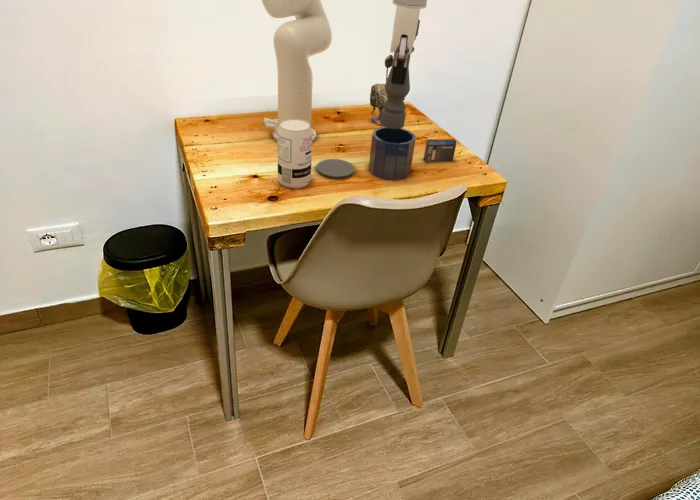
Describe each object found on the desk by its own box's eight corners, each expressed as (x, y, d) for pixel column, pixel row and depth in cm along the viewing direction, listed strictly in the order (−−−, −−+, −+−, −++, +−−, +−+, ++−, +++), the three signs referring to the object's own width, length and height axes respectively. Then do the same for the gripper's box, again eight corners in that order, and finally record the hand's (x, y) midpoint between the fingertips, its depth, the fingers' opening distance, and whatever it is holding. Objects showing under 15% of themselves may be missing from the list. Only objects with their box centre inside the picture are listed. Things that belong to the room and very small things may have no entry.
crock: (366, 177, 136) (370, 141, 130) (371, 158, 145) (374, 124, 139) (409, 182, 135) (414, 146, 130) (410, 163, 144) (416, 129, 139)
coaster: (313, 176, 134) (313, 173, 134) (320, 159, 142) (320, 156, 142) (351, 181, 134) (352, 178, 133) (356, 164, 142) (356, 161, 141)
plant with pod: (360, 119, 168) (365, 54, 157) (388, 114, 174) (396, 51, 162) (374, 128, 163) (381, 62, 151) (403, 123, 168) (412, 59, 157)
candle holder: (397, 131, 130) (413, 24, 115) (375, 124, 132) (388, 18, 118) (408, 124, 134) (425, 20, 120) (387, 117, 137) (401, 14, 122)
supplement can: (280, 172, 134) (279, 116, 126) (312, 175, 135) (314, 119, 126) (275, 188, 128) (274, 129, 119) (309, 190, 128) (311, 133, 119)
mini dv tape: (425, 162, 146) (428, 142, 143) (423, 159, 147) (426, 139, 144) (452, 161, 148) (456, 141, 144) (450, 158, 149) (454, 138, 146)
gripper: (395, -11, 123) (385, 67, 134) (390, 3, 109) (379, 89, 120) (427, -7, 122) (415, 71, 133) (426, 7, 109) (412, 93, 119)
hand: (398, 79), depth 126 cm, fingers closed on candle holder, 4 cm apart
